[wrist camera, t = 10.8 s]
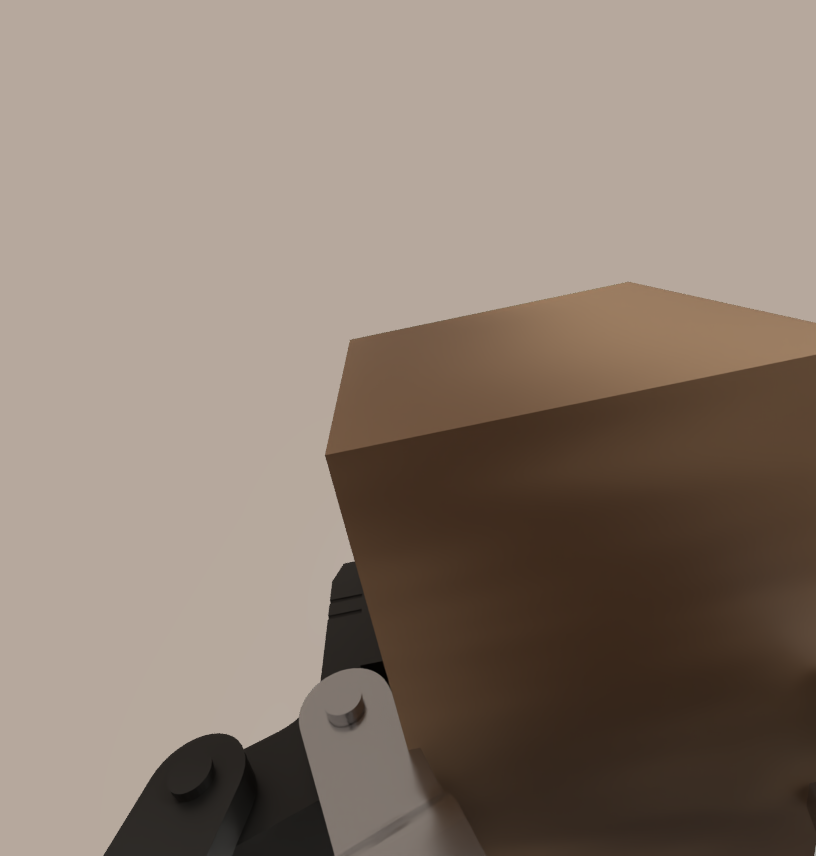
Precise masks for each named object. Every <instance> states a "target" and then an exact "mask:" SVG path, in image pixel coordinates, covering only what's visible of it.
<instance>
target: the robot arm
mask: <svg viewBox="0 0 816 856" xmlns="http://www.w3.org/2000/svg"><path fill="white" fill-rule="evenodd" d="M330 602H331V604H330V606H329V615H328V616H329V620H328V623H327V632H326V641H325V650H324V657H323V666H322V675H321V682H320V683H319V684H317V685H316V686H315V687H314V688H313V689H312V691H311V692H310V693H309V694H308V696H307V697H306V699H305V700H304V702H303V705H302V707H301V710H300V714H299V718H298V719H297V720H296V721H294V722H293V723H292V724H290V725H289V726H287V727H286V728H284V729H282V730H281V731H279V732H277V733H275V734H273V735H271V736H269V737H267V738H265V739H263V740H261V741H259V742H257V743H255V744H253V745H251V746H249V747H247V748H245V749H243V747H242V745H241V744H240V743H239V741H238V740H237V739H235V738H234V737H232V736H230V735H227V734H220V733H219V734H209V735H205V736H202V737H199V738H196V739H194V740H192V741H190V742H188V743H186V744H185V745H183V746H182V747H180V748H179V749H177V750H176V751H175V752H174V753H172V754H171V755H170V756H169V757H168V758H167V759H166V760H165V761H164V762H163V763H162V764H161V765H160V767H159V768H158V769H157V770H156V772H155V773H154V774H153V776H152V777H151V779H150V781H149V782H148V784H147V785H146V787H145V789H144V790H143V792H142V794H141V795H140V797H139V798H138V800H137V802H136V803H135V805H134V807H133V808H132V810H131V812H130V813H129V815H128V816H127V818H126V820H125V821H124V823H123V825H122V826H121V828H120V830H119V831H118V833H117V834H116V836H115V838H114V839H113V841H112V843H111V844H110V846H109V847H108V849H107V851H106V852H105V854H104V856H486V854H485V852H484V850H483V849H482V847H481V845H480V843H479V841H478V839H477V837H476V835H475V834H474V832H473V830H472V828H471V826H470V824H469V822H468V820H467V819H466V817H465V815H464V813H463V811H462V809H461V808H460V806H459V804H458V803H457V801H456V800H455V798H454V797H453V796H452V794H451V793H449V792H448V793H446V794H445V793H444V791H443V790H442V788H441V786H440V785H439V783H438V781H437V779H436V777H435V775H434V773H433V771H432V769H431V767H430V765H429V763H428V761H427V760H426V758H425V756H424V754H423V752H422V750H421V748H416V749H411V750H408V749H407V745H406V741H405V738H404V734H403V731H402V727H401V724H400V720H399V717H398V713H397V709H396V706H395V702H394V699H393V695H392V692H391V688H390V685H389V681H388V677H387V674H386V670H385V667H384V663H383V660H382V656H381V652H380V649H379V645H378V642H377V638H376V635H375V631H374V628H373V624H372V620H371V617H370V613H369V610H368V606H367V603H366V599H365V595H364V592H363V588H362V585H361V581H360V578H359V574H358V571H357V567H356V563H355V562H350V563H345V564H343V566H342V568H341V569H340V571H339V572H338V574H337V576H336V577H335V578H334V580H333V581H332V589H331V597H330ZM807 809H808V812H809V815H810V817H811V820H812V823H813V826H814V828H815V831H816V782H813V783H809V790H808V798H807Z"/></svg>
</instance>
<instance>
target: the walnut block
mask: <svg viewBox="0 0 816 856" xmlns="http://www.w3.org/2000/svg"><path fill="white" fill-rule="evenodd" d="M325 457H326V460H327V464H328V467H329V471H330V474H331V478H332V481H333V485H334V488H335V492H336V496H337V499H338V503H339V506H340V510H341V514H342V517H343V520H344V524H345V528H346V531H347V535H348V539H349V542H350V546H351V549H352V553H353V556H354V560H355V563H356V567H357V571H358V574H359V578H360V581H361V585H362V588H363V592H364V595H365V599H366V603H367V606H368V610H369V613H370V617H371V620H372V624H373V628H374V631H375V635H376V638H377V642H378V645H379V649H380V652H381V656H382V660H383V663H384V667H385V670H386V674H387V677H388V681H389V685H390V688H391V692H392V695H393V699H394V702H395V706H396V709H397V713H398V717H399V720H400V724H401V727H402V731H403V734H404V738H405V741H406V745H407V749H408V750H411V749H416V748H421V750H422V752H423V754H424V756H425V758H426V760H427V761H428V763H429V765H430V767H431V769H432V771H433V773H434V775H435V777H436V779H437V781H438V783H439V785H440V786H441V788H442V790H443V791H444V793H445V794H446V793H448V792H449V793H451V794H452V796H453V797H454V798H455V800H456V801H457V803H458V804H459V806H460V808H461V809H462V811H463V813H464V815H465V817H466V819H467V820H468V822H469V824H470V826H471V828H472V830H473V832H474V834H475V835H476V837H477V839H478V841H479V843H480V845H481V847H482V849H483V850H484V852H485V854H486V856H814V853H815V847H816V831H815V828H814V826H813V823H812V820H811V817H810V815H809V812H808V809H807V798H808V790H809V783H813V782H816V323H813V322H809V321H804V320H800V319H795V318H791V317H786V316H782V315H777V314H773V313H768V312H764V311H759V310H754V309H750V308H745V307H741V306H736V305H731V304H727V303H723V302H718V301H713V300H709V299H704V298H700V297H695V296H691V295H686V294H682V293H677V292H672V291H668V290H663V289H658V288H654V287H649V286H645V285H640V284H636V283H631V282H626V283H621V284H616V285H611V286H607V287H602V288H597V289H592V290H587V291H583V292H578V293H573V294H568V295H563V296H558V297H554V298H549V299H544V300H539V301H534V302H530V303H525V304H520V305H516V306H510V307H506V308H501V309H496V310H491V311H486V312H482V313H477V314H472V315H468V316H462V317H458V318H454V319H448V320H443V321H438V322H434V323H429V324H424V325H419V326H415V327H410V328H405V329H400V330H395V331H390V332H386V333H381V334H376V335H371V336H367V337H362V338H357V339H352V340H350V343H349V347H348V352H347V357H346V362H345V366H344V371H343V375H342V380H341V384H340V389H339V393H338V398H337V403H336V407H335V412H334V417H333V421H332V426H331V430H330V435H329V440H328V444H327V449H326V454H325Z"/></svg>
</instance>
